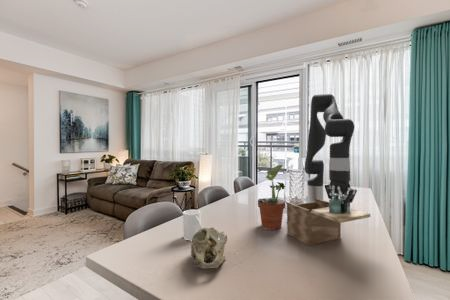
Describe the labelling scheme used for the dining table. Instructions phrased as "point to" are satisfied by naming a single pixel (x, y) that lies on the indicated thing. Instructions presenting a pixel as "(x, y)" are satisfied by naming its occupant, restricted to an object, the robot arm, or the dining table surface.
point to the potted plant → (272, 204)
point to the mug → (191, 223)
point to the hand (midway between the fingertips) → (339, 211)
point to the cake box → (311, 223)
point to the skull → (208, 247)
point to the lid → (339, 212)
